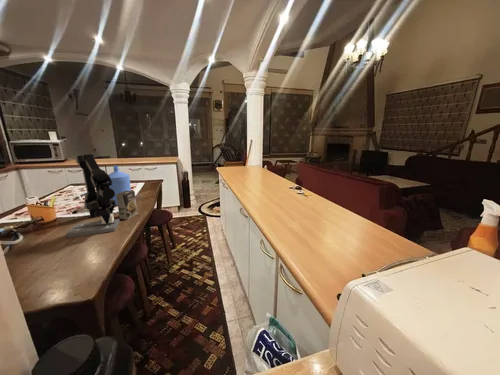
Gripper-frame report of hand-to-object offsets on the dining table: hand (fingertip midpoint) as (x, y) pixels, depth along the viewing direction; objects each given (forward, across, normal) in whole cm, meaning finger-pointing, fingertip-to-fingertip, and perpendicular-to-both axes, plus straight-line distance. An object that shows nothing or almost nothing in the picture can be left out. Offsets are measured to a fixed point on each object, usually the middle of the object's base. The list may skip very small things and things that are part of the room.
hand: (108, 221), depth 125 cm
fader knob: (+1, 0, 0) cm, 1 cm away
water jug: (+4, -47, -2) cm, 47 cm away
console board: (+4, 0, -7) cm, 8 cm away
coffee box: (+4, -14, +8) cm, 17 cm away
